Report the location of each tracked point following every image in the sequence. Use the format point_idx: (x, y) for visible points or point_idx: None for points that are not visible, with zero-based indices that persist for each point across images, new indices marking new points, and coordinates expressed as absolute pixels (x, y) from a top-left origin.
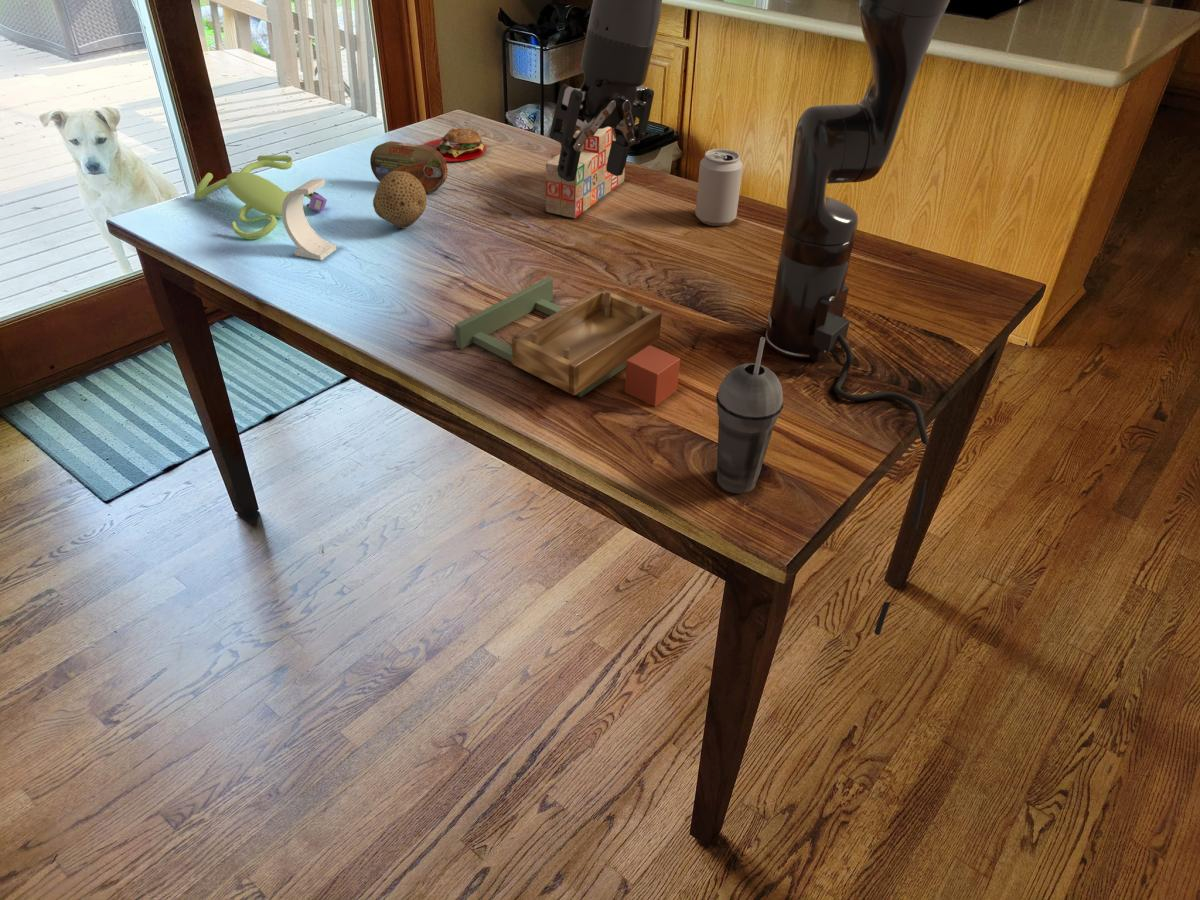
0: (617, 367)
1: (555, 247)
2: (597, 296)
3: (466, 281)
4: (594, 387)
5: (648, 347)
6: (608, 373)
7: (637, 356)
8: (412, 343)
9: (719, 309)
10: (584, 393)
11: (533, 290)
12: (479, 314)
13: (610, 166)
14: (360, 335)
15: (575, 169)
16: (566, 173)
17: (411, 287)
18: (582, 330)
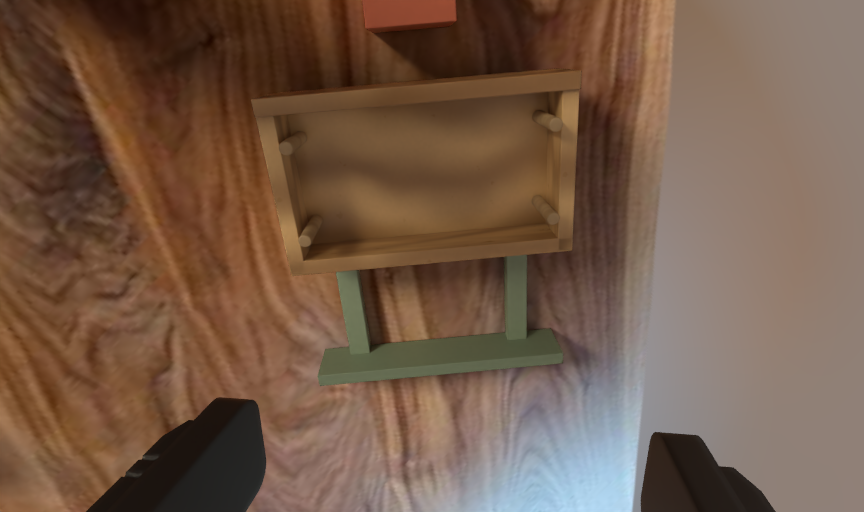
0: None
1: None
2: (318, 258)
3: (398, 465)
4: None
5: (376, 22)
6: None
7: (425, 12)
8: (586, 383)
9: (46, 110)
10: None
11: (373, 368)
12: (508, 363)
13: (246, 477)
14: (618, 439)
15: (706, 488)
16: (752, 487)
17: (473, 494)
18: (394, 215)
